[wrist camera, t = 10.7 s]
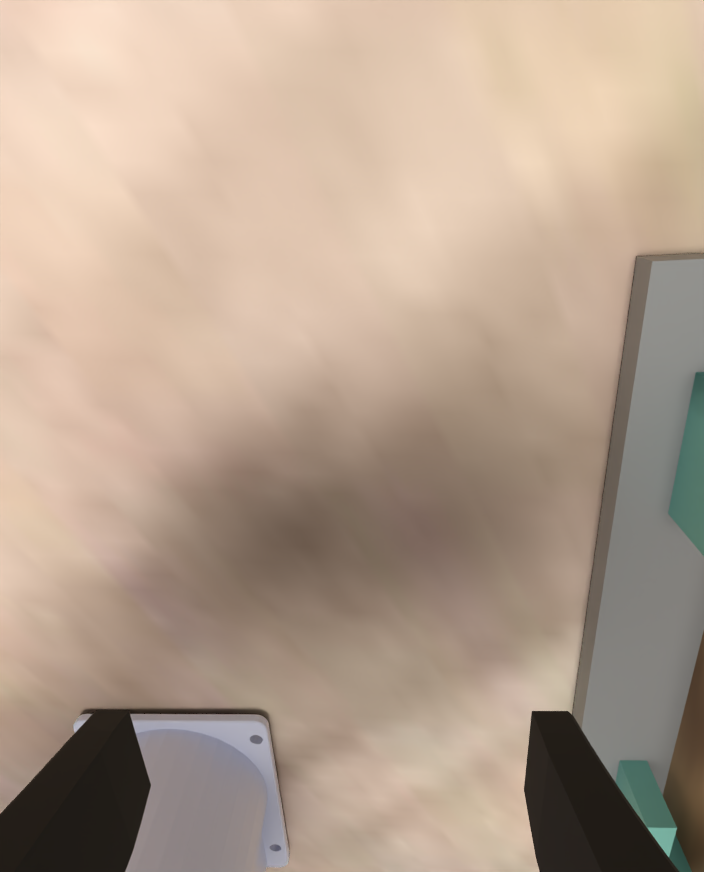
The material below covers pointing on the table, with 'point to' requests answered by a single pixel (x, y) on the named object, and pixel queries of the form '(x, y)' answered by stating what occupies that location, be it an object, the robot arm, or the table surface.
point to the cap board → (650, 545)
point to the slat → (689, 772)
